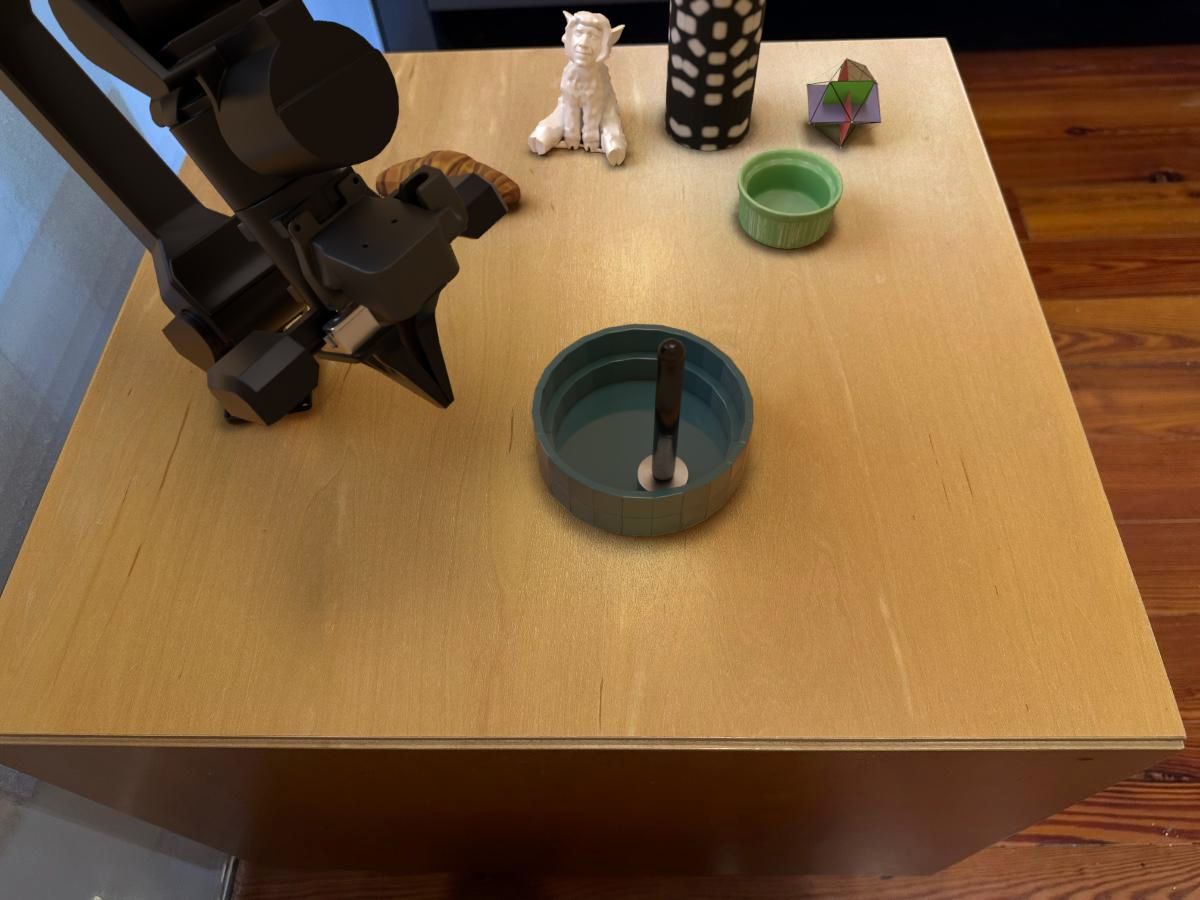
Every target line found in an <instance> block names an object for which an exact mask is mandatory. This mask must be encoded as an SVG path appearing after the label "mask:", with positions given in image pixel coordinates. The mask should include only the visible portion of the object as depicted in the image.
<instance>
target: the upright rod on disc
mask: <svg viewBox="0 0 1200 900" xmlns="http://www.w3.org/2000/svg"><path fill="white" fill-rule="evenodd" d="M685 353H686V352H685V347H684V345H683V344H682V342H681V341H679V340H677V339H674V338H670V339H666V340H664V341H663V342H662V343H661V344H660V346H659V348H658V358H657V377H656V396H655V415H654V434H653V452H652V455H650V456H648V457H646V458H645V459H644V460H643V461H642V462H641V463H640V465H639V467H638V469H637V489H638V491H658V490H664V489H669V488H675V487H680V486H683V485H685V484H687V483H688V481H689V471H688V468H687V466H686V464H685V463H684V462H683V461H682V460H681V459H680V458H679V457H677V456H676V453H677V442H678V431H679V420H680V409H681V398H682V387H683V375H684V364H685Z"/></svg>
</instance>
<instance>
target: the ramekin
mask: <svg viewBox="0 0 1200 900" xmlns="http://www.w3.org/2000/svg"><path fill="white" fill-rule="evenodd" d="M737 189H738V192H739V193H738V219H739V222H740V223H739V224H740V225H741V227H742V229H743V230H744V232H745V233H746V234H747V235H748V236H750V237H751V238H752V239H754V241H757V242H758V243H760V244H763V245H764V246H768V247H772V248H776V249H784V250H785V249H787V250H789V249H792V250H793V249H799V248H804V247H807V246H809V245H812V244H814V243H815V242H817V241H819V240H820V239H821V238H822V237H823V236H824V235H825V234H826V232H827V231H828V229H829V227H830V224H831V223H832V222H831V221H832V218H833V217H834V216H833V215H834V212H835V210H836V207H837V205H838V204H839V202H840V200H841V198H842V195H843V192H844V181H843V177H842V175H841V173H840V171H839V170H838V168H837V167H836V165H834V164H833V163H832V162H831V161H830V160H828V159H827V158H826V157H823V156H822V155H820V154H818V153H815V152H813V151H810V150H805V149H802V148H793V147H778V148H771V149H768V150H764V151H761V152H758V153H756V154H754V155H753V156H751V157H750V158H748V159H747V160H746V161H745V162H744V163H743V164H742V165H741V167H740V168H739V171H738V173H737Z"/></svg>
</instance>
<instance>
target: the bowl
mask: <svg viewBox="0 0 1200 900" xmlns="http://www.w3.org/2000/svg"><path fill="white" fill-rule="evenodd" d="M670 338H674V339H677V340H679V341H681V342H682V344H683V345H684V347H685V352H686V353H685V364H684V375H683V387H682V398H681V409H680V420H679V431H678V442H677V453H676V456H677V457H679V458H680V459H681V460H682V461H683V462H684V463H685V464H686V466H687V468H688V471H689V481H688V483H687V484H685V485H683V486H680V487H675V488H669V489H664V490H658V491H638V489H637V469H638V467H639V465H640V463H641V462H642V461H643V460H644V459H645V458H646V457H648V456H650V455H652V452H653V434H654V415H655V396H656V377H657V358H658V348H659V346H660V344H661V343H662V342H663V341H664V340H666V339H670ZM753 398H754V397H753V395H752V393H751V389H750V387H749V384H748V382H747V379H746V377H745V375H744V373H743V372H742V371H741V370H740V368H739V367H738V366H737V364H736V363H735V361H734V360H733V359H732V358H731V357H730V356H729V355H727V354H726V353H725V351H722V349H720V348H719V347H717V346H716V345H715V344H713V343H712V342H711V341H709V340H707V339H705V338H703V337H701V336H699V335H696V334H695V333H692V332H690V331H688V330H685V329H680V328H676V327H672V326H667V325H663V324H654V323H652V324H651V323H628V324H621V325H616V326H609V327H605V328H602V329H599V330H598V331H594V332H591V333H589V334H586V335H583V336H582V337H580V338H578V339H577V340H575V341H574V342H572V343H571V344H569V345H568V346H565V348H563V349H561V350H560V351H559V352H558V353H557V354H556V356H554V357H553V359H552V360H551V361H550V362H549V363H548V365H546V366H545V368H544V369H543V371H542V373H541V375H540V378H539V379H538V382H537V384H536V386H535V388H534V391H533V398H532V405H531V406H532V407H531V419H532V428H533V435H534V442H535V451H536V458H537V462H538V467H539V472H540V476H541V477H542V479H543V481H544V483H545V485H546V487H547V489H548V490H549V492H550V494H551V496H552V497H553V498H554V499H555V500H556V501H557V502H558V503H559V504H560V505H561V506H562V507H563V508H564V509H565V510H566V511H567V512H568V513H569V514H571V516H574V517H576V518H577V519H579V520H581V521H583V522H584V523H586V524H588V525H590V526H591V527H594V528H595V529H598V530H602V531H606V532H609V533H613V534H617V535H620V536H629V537H649V538H650V537H657V536H663V535H669V534H674V533H679V532H682V531H684V530H686V529H689V528H690V527H691V528H692V527H693V526H695V525H698V524H700V523H702V522H705V521H706V520H708V519H709V518H710V517H711V516H712V515H714V514H715V513H716V512H717V511H719V510H720V509H722V507H723V506H725V505H726V503H727V502H728V501H729V499H730V498H731V496H732V495H733V493H734V492H735V490H736V489H737V487H738V486H739V485H740V483H741V479H742V476H743V473H744V469H745V466H746V463H747V457H748V453H749V448H750V443H751V438H752V433H753V428H754V423H755V422H754V421H755V415H754V399H753Z"/></svg>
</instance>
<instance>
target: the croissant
mask: <svg viewBox="0 0 1200 900" xmlns="http://www.w3.org/2000/svg"><path fill="white" fill-rule="evenodd" d="M422 165H428V166H432V167H435V168H438V169H441V170H442V172H443V173H444V174H445V176H446V177H448V176H454V175H460V174H467V173H476V174H479V175H482V176H484V177H485V178H486V179H488V180H489V181H491V182H492V183H493V184H494V185H495V187H496V189H497V190H498V192H499V194H500V195H501V197H502V199H503V200H504V202H505V204H506V205H507V207H508V209H511V208H514V207H517V206H518V205H519V203H520V201H521V197H522V193H521V192H522V191H521V189H520V186H519V184H518V183H516V182H515V181H514V180H513V179H511V178H510V177H509V176H508V175H507V174H506V173H505V174H504V173H502V172H501V171H499V170H497V169H495V168H494V167H491V166H490V165H487V164H486V163H482V162H479V161H477V160H476V159H474V158H473V157H471V155H468V154H467V153H463V152H460V151H455V150H452V149H443V150H432V151H430V152H428V153H427V154H425V155H423V156H420V157H419V156H418V157H414V158H410V159H407V160H405V161H402V162H398V163H396V164H393V165H391V166H389V167H388V168H386V169H384V170H383V171H381V172H379V173H378V175H377V176H376V177H375V190H376V191H377V192H376V193H377V194H378V195H379V196H381V197H383V198H385V197H387V196H388V195H389V194H390V193H391V192H392V191H394V190H395V189H396V188H398V189H399V185H400V183H401V182H403V181H404V180H405V179H406V178H407V177H409V176H410V175H411V174H412V173H413V172H415V171H416V170H417V169H418V168H419V167H420V166H422Z"/></svg>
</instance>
